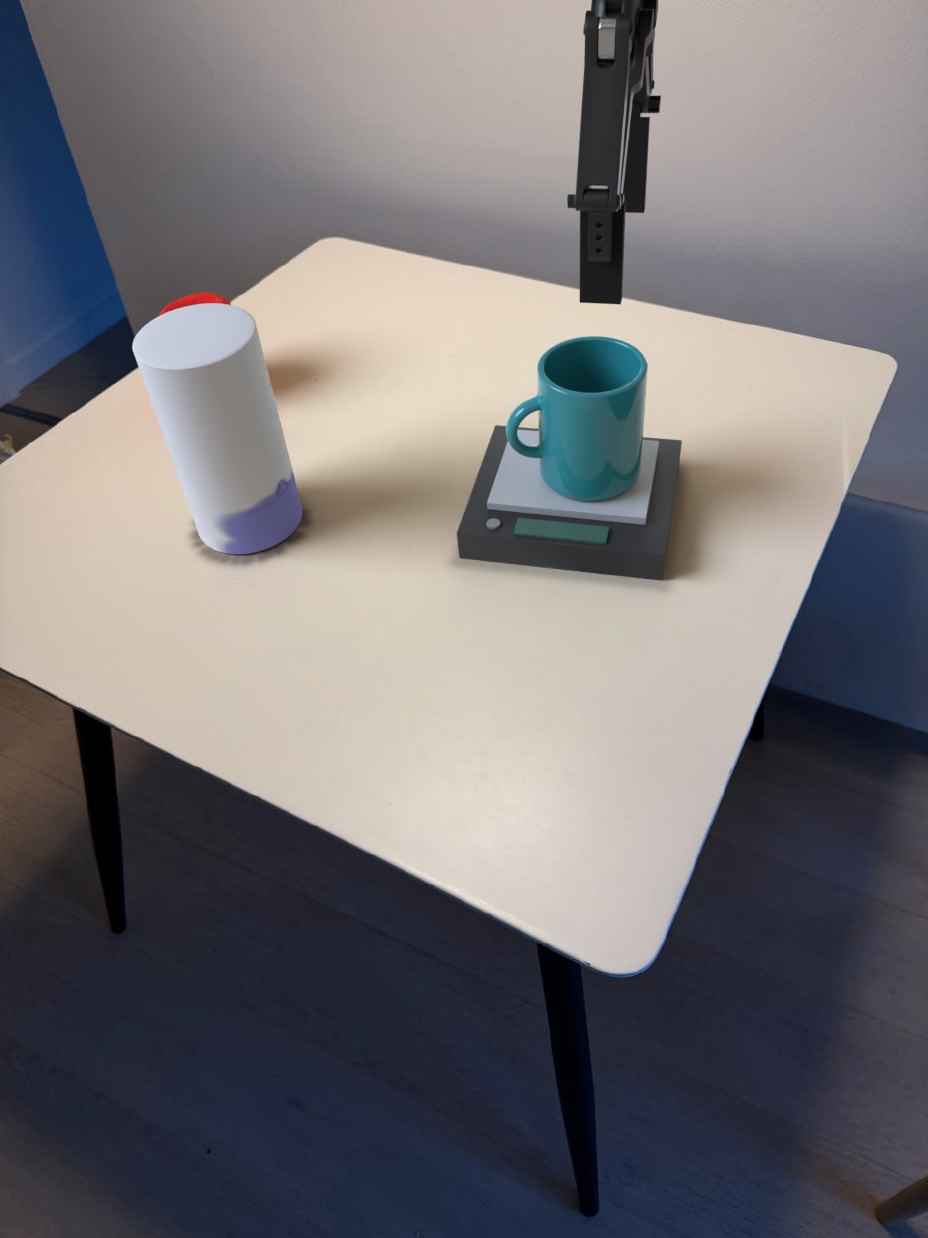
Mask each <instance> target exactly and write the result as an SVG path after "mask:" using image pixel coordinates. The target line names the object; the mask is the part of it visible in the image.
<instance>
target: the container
mask: <svg viewBox="0 0 928 1238" xmlns="http://www.w3.org/2000/svg"><path fill="white" fill-rule="evenodd" d="M131 346H132V347H131V348H132V352H133V355H134V357H135V360H136V364H137V366H138V369H139V371H140V374H141V378H142V380H143V384H144V385H145V388H146V391H147V394H148V397H149V399H150V402H151V406H152V409H153V410H154V411H153V412H154V413H155V416H156V419H157V422H158V424H159V427H160V430H161V433H162V436H163V438H164V441H165V444H166V447H167V449H168V453H169V455H170V458H171V461H172V464H173V466H174V469H175V472H176V475H177V477H178V481H179V484H180V486H181V489H182V491H183V494H184V497H185V500H186V503H187V505H188V508H189V511H190V513H191V516H192V519H193V522H194V524H195V528H196V530H197V533H198V535H199V538H200V540H201V541H202V542H203V543H204V544H205V545H206V546H207V547H208V548H210V549H212V550H214V551H217V552H220V553H224V554H229V555H248V554H253V553H259V552H262V551H264V550H268V549H270V548H273V547H274V546H276V545H278V544H280V543H282V542H283V541H285V540H286V539H287V538H288V537H290V536H291V535H292V534H293V533H294V532H295V530H296V529H298V527H299V525H300V523H301V520H302V518H303V506H302V501H301V498H300V494H299V490H298V486H297V483H296V482H297V481H296V478H295V474H294V470H293V465H292V462H291V457H290V454H289V449H288V446H287V442H286V438H285V433H284V431H283V426H282V422H281V418H280V414H279V411H278V410H279V409H278V407H277V406H278V405H277V403H276V398H275V395H274V390H273V386H272V382H271V378H270V373H269V371H268V366H267V362H266V359H265V355H264V351H263V347H262V342H261V338H260V335H259V331H258V326H257V323H256V320H255V318H254V316H252V314H251V313H249V311H247V310H245V309H243V308H242V307H239V306H235V305H232V304H231V305H228V304H219V303H206V304H197V305H191V306H186V307H182V308H178V309H175V310H172V311H170V312H167V313H165V314H163V315H161V316H156V317H155V318H153V319H151V320H150V321H148V323H146V324H145V325H144V326H142V327H141V329H140V330H139V331H138V332H137V334H136V335H135V336H134V338H133V341H132V345H131Z"/></svg>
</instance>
